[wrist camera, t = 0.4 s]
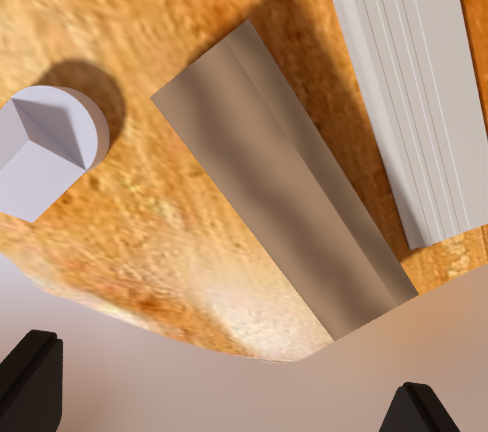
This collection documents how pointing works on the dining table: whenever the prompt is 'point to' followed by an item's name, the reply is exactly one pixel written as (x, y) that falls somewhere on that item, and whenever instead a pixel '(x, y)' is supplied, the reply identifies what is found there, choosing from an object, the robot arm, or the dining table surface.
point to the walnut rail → (284, 181)
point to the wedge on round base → (47, 146)
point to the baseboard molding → (422, 111)
